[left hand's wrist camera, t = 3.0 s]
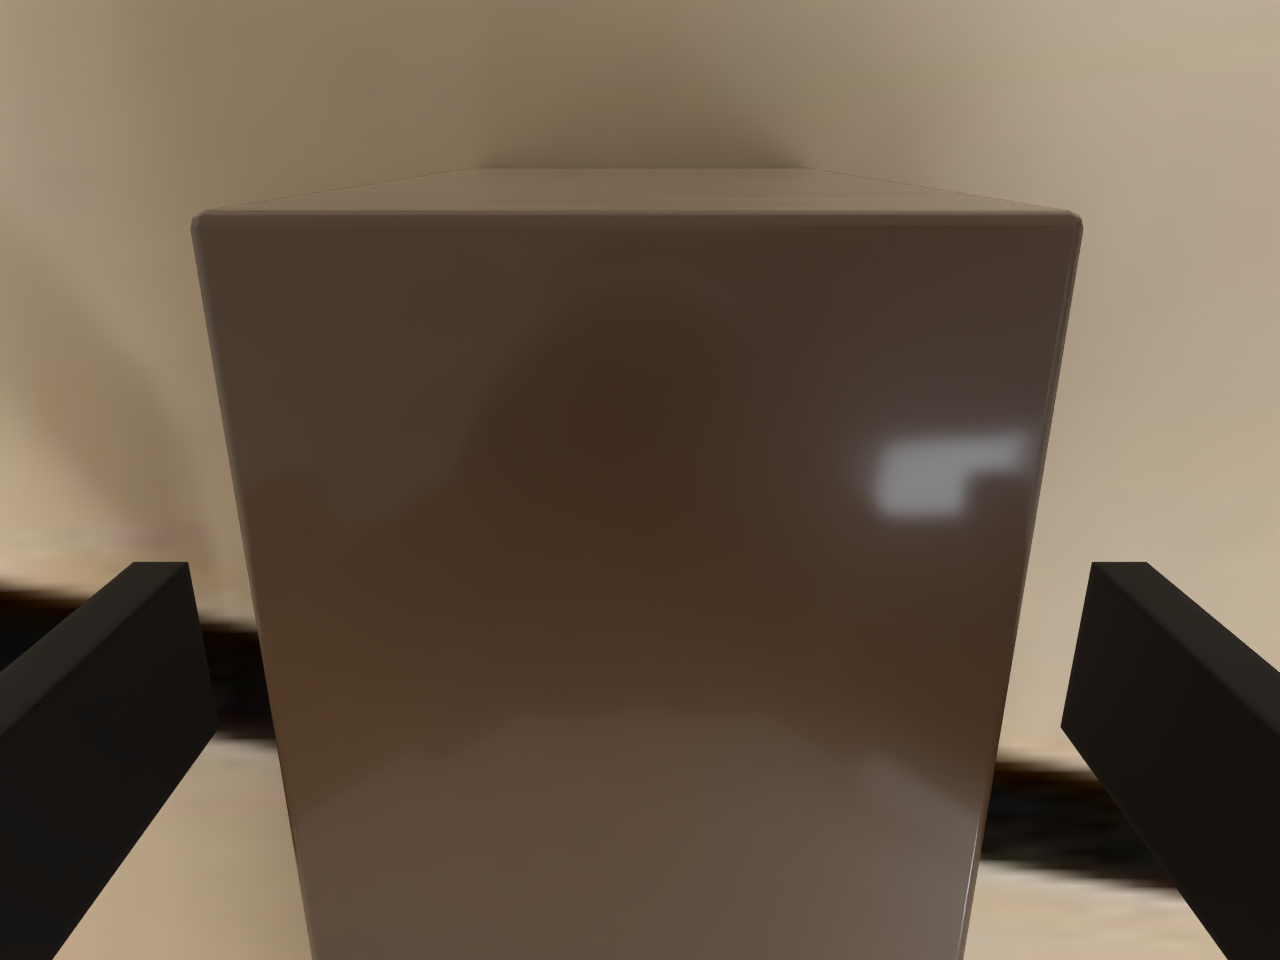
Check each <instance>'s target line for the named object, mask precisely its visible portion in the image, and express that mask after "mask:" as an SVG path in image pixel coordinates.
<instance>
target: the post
mask: <svg viewBox="0 0 1280 960" xmlns="http://www.w3.org/2000/svg"><path fill="white" fill-rule="evenodd" d="M191 234H192V240H193V246H194V252H195V258H196V264H197V270H198V276H199V282H200V288H201V294H202V300H203V306H204V312H205V318H206V324H207V330H208V336H209V342H210V348H211V354H212V360H213V366H214V372H215V378H216V384H217V390H218V396H219V402H220V408H221V414H222V420H223V426H224V432H225V438H226V444H227V450H228V456H229V462H230V468H231V474H232V480H233V486H234V491H235V497H236V503H237V509H238V515H239V521H240V527H241V533H242V539H243V545H244V551H245V557H246V563H247V569H248V575H249V581H250V587H251V593H252V599H253V605H254V611H255V617H256V623H257V629H258V635H259V641H260V647H261V653H262V659H263V665H264V671H265V677H266V683H267V689H268V695H269V701H270V707H271V713H272V719H273V725H274V731H275V737H276V743H277V749H278V755H279V761H280V767H281V773H282V779H283V785H284V791H285V797H286V803H287V809H288V815H289V821H290V827H291V833H292V839H293V845H294V851H295V857H296V863H297V869H298V875H299V881H300V887H301V893H302V899H303V905H304V911H305V917H306V923H307V929H308V935H309V941H310V947H311V953H312V959H313V960H963V957H964V950H965V944H966V938H967V932H968V926H969V920H970V914H971V908H972V902H973V896H974V890H975V884H976V878H977V871H978V865H979V859H980V853H981V847H982V841H983V835H984V829H985V823H986V817H987V811H988V805H989V799H990V793H991V786H992V780H993V774H994V768H995V762H996V756H997V750H998V744H999V738H1000V732H1001V726H1002V720H1003V714H1004V707H1005V701H1006V695H1007V689H1008V683H1009V677H1010V671H1011V665H1012V659H1013V653H1014V647H1015V641H1016V635H1017V628H1018V622H1019V616H1020V610H1021V604H1022V598H1023V592H1024V586H1025V580H1026V574H1027V568H1028V562H1029V556H1030V550H1031V543H1032V537H1033V531H1034V525H1035V519H1036V513H1037V507H1038V501H1039V495H1040V489H1041V483H1042V477H1043V471H1044V464H1045V458H1046V452H1047V446H1048V440H1049V434H1050V428H1051V422H1052V416H1053V410H1054V404H1055V398H1056V392H1057V385H1058V379H1059V373H1060V367H1061V361H1062V355H1063V349H1064V343H1065V337H1066V331H1067V325H1068V319H1069V313H1070V307H1071V300H1072V294H1073V288H1074V282H1075V276H1076V270H1077V264H1078V258H1079V252H1080V246H1081V240H1082V234H1083V225H1082V219H1081V217H1080V216H1079V215H1077V214H1075V213H1073V212H1070V211H1068V210H1062V209H1056V208H1050V207H1043V206H1037V205H1031V204H1025V203H1019V202H1013V201H1007V200H1000V199H994V198H988V197H982V196H976V195H970V194H964V193H957V192H951V191H945V190H939V189H933V188H927V187H920V186H914V185H908V184H902V183H896V182H890V181H884V180H877V179H871V178H865V177H859V176H853V175H847V174H840V173H834V172H828V171H822V170H816V169H810V168H472V169H466V170H459V171H453V172H447V173H440V174H434V175H428V176H421V177H415V178H408V179H402V180H396V181H389V182H383V183H377V184H370V185H364V186H357V187H351V188H345V189H338V190H332V191H326V192H319V193H313V194H306V195H300V196H294V197H287V198H281V199H275V200H268V201H262V202H256V203H249V204H243V205H236V206H230V207H224V208H217V209H211V210H205V211H203V212H201V213H199V214H197V215H195V216H194V217H193V218H192V224H191Z"/></svg>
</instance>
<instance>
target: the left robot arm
mask: <svg viewBox="0 0 1280 960" xmlns="http://www.w3.org/2000/svg"><path fill="white" fill-rule="evenodd" d="M218 728H219V722H218V716H217V711H216V706H215V701H214V695H213V690H212V685H211V680H210V674H209V669H208V664H207V659H206V654H205V648H204V643H203V638H202V633H201V627H200V622H199V617H198V612H197V607H196V601H195V596H194V591H193V586H192V580H191V575H190V570H189V565H188V562H133V563H132V564H131V565H129V566H128V567H127V568H126V569H125V570H123V571H122V572H121V573H120V574H119V575H117V576H116V577H115V578H114V579H113V580H111V581H110V582H109V583H108V584H106V585H105V586H104V587H103V588H102V589H100V590H99V591H98V592H97V593H96V594H94V595H93V596H92V597H91V598H90V599H88V600H87V601H86V602H85V603H84V604H82V605H81V606H80V607H79V608H78V609H76V610H75V611H74V612H73V613H72V614H70V615H69V616H68V617H67V618H66V619H64V620H63V621H62V622H61V623H59V624H58V625H57V626H56V627H55V628H53V629H52V630H51V631H50V632H49V633H47V634H46V635H45V636H44V637H43V638H41V639H40V640H39V641H38V642H37V643H35V644H34V645H33V646H32V647H31V648H29V649H28V650H27V651H26V652H25V653H23V654H22V655H21V656H20V657H18V658H17V659H16V660H15V661H14V662H12V663H11V664H10V665H9V666H8V667H6V668H5V669H4V670H3V671H2V672H0V960H52V959H53V958H54V957H55V955H56V954H57V952H58V951H59V950H60V948H61V947H62V945H63V944H64V943H65V941H66V940H67V939H68V937H69V936H70V934H71V933H72V932H73V930H74V929H75V927H76V926H77V925H78V923H79V922H80V920H81V919H82V918H83V916H84V915H85V913H86V912H87V911H88V909H89V908H90V907H91V905H92V904H93V902H94V901H95V900H96V898H97V897H98V895H99V894H100V893H101V891H102V890H103V888H104V887H105V886H106V884H107V883H108V881H109V880H110V879H111V877H112V876H113V875H114V873H115V872H116V870H117V869H118V868H119V866H120V865H121V863H122V862H123V861H124V859H125V858H126V856H127V855H128V854H129V852H130V851H131V849H132V848H133V847H134V845H135V844H136V843H137V841H138V840H139V838H140V837H141V836H142V834H143V833H144V831H145V830H146V829H147V827H148V826H149V824H150V823H151V822H152V820H153V819H154V817H155V816H156V815H157V813H158V812H159V811H160V809H161V808H162V806H163V805H164V804H165V802H166V801H167V799H168V798H169V797H170V795H171V794H172V792H173V791H174V790H175V788H176V787H177V785H178V784H179V783H180V781H181V780H182V779H183V777H184V776H185V774H186V773H187V772H188V770H189V769H190V767H191V766H192V765H193V763H194V762H195V760H196V759H197V758H198V756H199V755H200V753H201V752H202V751H203V749H204V748H205V747H206V745H207V744H208V742H209V741H210V740H211V738H212V737H213V735H214V734H215V733H216V731H217V730H218ZM1061 728H1062V730H1063V731H1064V733H1065V734H1066V735H1067V737H1068V738H1069V740H1070V741H1071V742H1072V744H1073V745H1074V746H1075V748H1076V749H1077V751H1078V752H1079V753H1080V755H1081V756H1082V758H1083V759H1084V760H1085V762H1086V763H1087V765H1088V766H1089V767H1090V769H1091V770H1092V772H1093V773H1094V774H1095V776H1096V777H1097V778H1098V780H1099V781H1100V783H1101V784H1102V785H1103V787H1104V788H1105V790H1106V791H1107V792H1108V794H1109V795H1110V797H1111V798H1112V799H1113V801H1114V802H1115V804H1116V805H1117V806H1118V808H1119V809H1120V810H1121V812H1122V813H1123V815H1124V816H1125V817H1126V819H1127V820H1128V822H1129V823H1130V824H1131V826H1132V827H1133V829H1134V830H1135V831H1136V833H1137V834H1138V836H1139V837H1140V838H1141V840H1142V841H1143V842H1144V844H1145V845H1146V847H1147V848H1148V849H1149V851H1150V852H1151V854H1152V855H1153V856H1154V858H1155V859H1156V861H1157V862H1158V863H1159V865H1160V866H1161V868H1162V869H1163V870H1164V872H1165V873H1166V874H1167V876H1168V877H1169V879H1170V880H1171V881H1172V883H1173V884H1174V886H1175V887H1176V888H1177V890H1178V891H1179V893H1180V894H1181V895H1182V897H1183V898H1184V900H1185V901H1186V902H1187V904H1188V905H1189V906H1190V908H1191V909H1192V911H1193V912H1194V913H1195V915H1196V916H1197V918H1198V919H1199V920H1200V922H1201V923H1202V925H1203V926H1204V927H1205V929H1206V930H1207V932H1208V933H1209V934H1210V936H1211V937H1212V938H1213V940H1214V941H1215V943H1216V944H1217V945H1218V947H1219V948H1220V950H1221V951H1222V952H1223V954H1224V955H1225V957H1226V958H1227V959H1228V960H1280V672H1278V671H1277V670H1276V669H1275V668H1274V667H1272V666H1271V665H1270V664H1269V663H1268V662H1266V661H1265V660H1264V659H1263V658H1262V657H1260V656H1259V655H1258V654H1257V653H1256V652H1254V651H1253V650H1252V649H1251V648H1249V647H1248V646H1247V645H1246V644H1245V643H1243V642H1242V641H1241V640H1240V639H1239V638H1237V637H1236V636H1235V635H1234V634H1233V633H1231V632H1230V631H1229V630H1228V629H1227V628H1225V627H1224V626H1223V625H1222V624H1221V623H1219V622H1218V621H1217V620H1216V619H1215V618H1213V617H1212V616H1211V615H1210V614H1209V613H1207V612H1206V611H1205V610H1204V609H1202V608H1201V607H1200V606H1199V605H1198V604H1196V603H1195V602H1194V601H1193V600H1192V599H1190V598H1189V597H1188V596H1187V595H1186V594H1184V593H1183V592H1182V591H1181V590H1180V589H1178V588H1177V587H1176V586H1175V585H1174V584H1172V583H1171V582H1170V581H1169V580H1168V579H1166V578H1165V577H1164V576H1163V575H1161V574H1160V573H1159V572H1158V571H1157V570H1155V569H1154V568H1153V567H1152V566H1151V565H1149V564H1148V563H1147V562H1092V565H1091V570H1090V575H1089V581H1088V586H1087V591H1086V596H1085V602H1084V607H1083V612H1082V617H1081V622H1080V628H1079V633H1078V638H1077V643H1076V649H1075V654H1074V659H1073V664H1072V669H1071V675H1070V680H1069V685H1068V690H1067V696H1066V701H1065V706H1064V711H1063V716H1062V722H1061Z"/></svg>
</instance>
